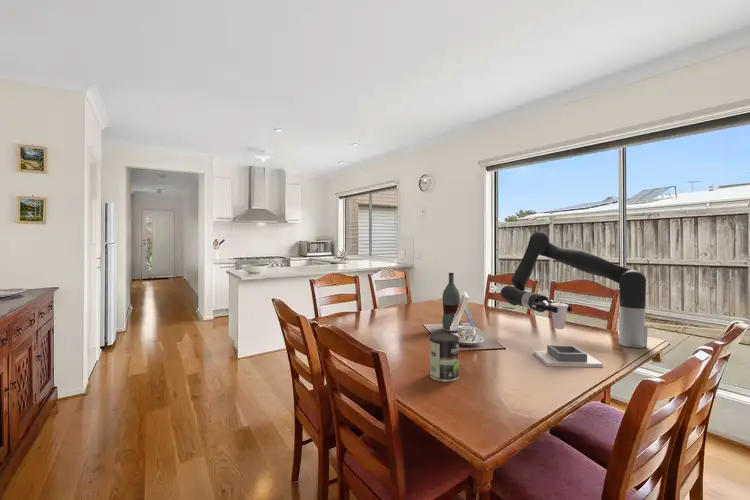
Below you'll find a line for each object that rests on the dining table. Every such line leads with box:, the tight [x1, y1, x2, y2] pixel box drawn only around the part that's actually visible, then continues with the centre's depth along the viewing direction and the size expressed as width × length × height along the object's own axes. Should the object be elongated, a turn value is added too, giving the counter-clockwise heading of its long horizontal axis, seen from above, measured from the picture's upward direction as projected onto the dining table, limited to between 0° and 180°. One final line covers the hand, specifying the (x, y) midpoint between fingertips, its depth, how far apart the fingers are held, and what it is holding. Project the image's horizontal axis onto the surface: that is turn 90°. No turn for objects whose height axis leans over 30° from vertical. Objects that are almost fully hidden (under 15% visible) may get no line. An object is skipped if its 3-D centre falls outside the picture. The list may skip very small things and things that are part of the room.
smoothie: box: [551, 293, 569, 330], centre depth 142 cm, size 6×6×14 cm
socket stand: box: [533, 344, 604, 368], centre depth 138 cm, size 20×14×4 cm
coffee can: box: [428, 332, 460, 383], centre depth 124 cm, size 10×10×14 cm
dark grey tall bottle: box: [442, 272, 461, 330], centre depth 183 cm, size 9×9×30 cm
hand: (564, 309), depth 140 cm, fingers closed on smoothie, 6 cm apart
